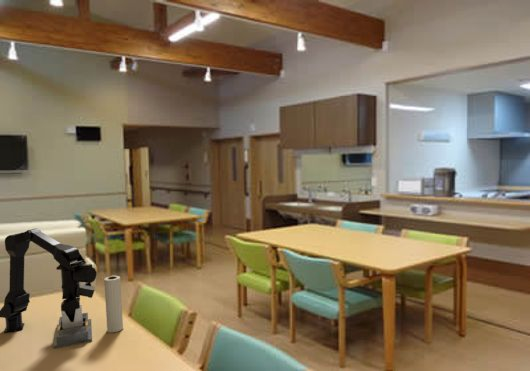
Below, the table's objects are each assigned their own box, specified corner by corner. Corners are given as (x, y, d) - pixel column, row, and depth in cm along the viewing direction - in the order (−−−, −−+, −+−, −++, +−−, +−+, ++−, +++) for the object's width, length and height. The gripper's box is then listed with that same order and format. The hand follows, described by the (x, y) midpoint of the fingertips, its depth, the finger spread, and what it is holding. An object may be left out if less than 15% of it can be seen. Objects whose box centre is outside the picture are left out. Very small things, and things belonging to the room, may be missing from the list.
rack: (57, 327, 167) (56, 317, 167) (91, 321, 172) (90, 311, 172) (53, 348, 148) (52, 337, 148) (92, 341, 153) (91, 330, 153)
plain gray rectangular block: (63, 328, 158) (61, 308, 157) (82, 324, 161) (81, 304, 160) (62, 331, 155) (61, 310, 154) (82, 327, 158) (81, 307, 157)
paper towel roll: (117, 333, 160) (114, 280, 158) (104, 332, 161) (100, 279, 159) (127, 325, 167) (124, 274, 165) (114, 324, 168) (111, 274, 166)
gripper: (93, 284, 151) (95, 325, 152) (92, 271, 168) (94, 308, 169) (59, 289, 147) (62, 331, 148) (62, 275, 164) (64, 313, 165)
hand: (72, 320), depth 158 cm, fingers closed on plain gray rectangular block, 3 cm apart
